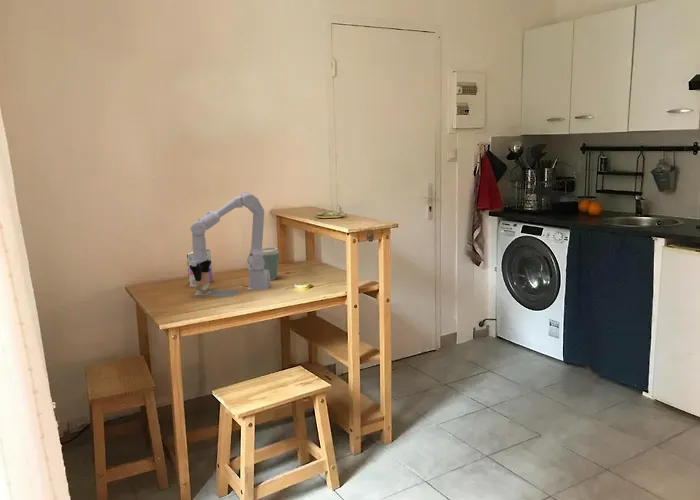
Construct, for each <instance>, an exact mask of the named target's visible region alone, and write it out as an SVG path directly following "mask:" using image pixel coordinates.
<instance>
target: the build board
mask: <svg viewBox="0 0 700 500" xmlns="http://www.w3.org/2000/svg"><path fill="white" fill-rule="evenodd" d="M240 292H241V290H237V289H235V290H233V289H230V290H227V289H210V292H209V293H207V294H196V293H194V294H192V295H191V297H209V298H210V297H217V298H219V297H221V298H225V297H227V298H233V297H234V296H236V295H238V294H239V293H240Z"/></svg>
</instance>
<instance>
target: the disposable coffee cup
mask: <svg viewBox="0 0 700 500" xmlns="http://www.w3.org/2000/svg"><path fill="white" fill-rule="evenodd" d="M262 252H263V259H264V262H265V264H264V269H266V270H269V271H270V281H273V280H276V279H277V276H278V265H279V253H280V252H279V248H277V247H273V246H272V247H271V246H269V247H264V248H262Z"/></svg>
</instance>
